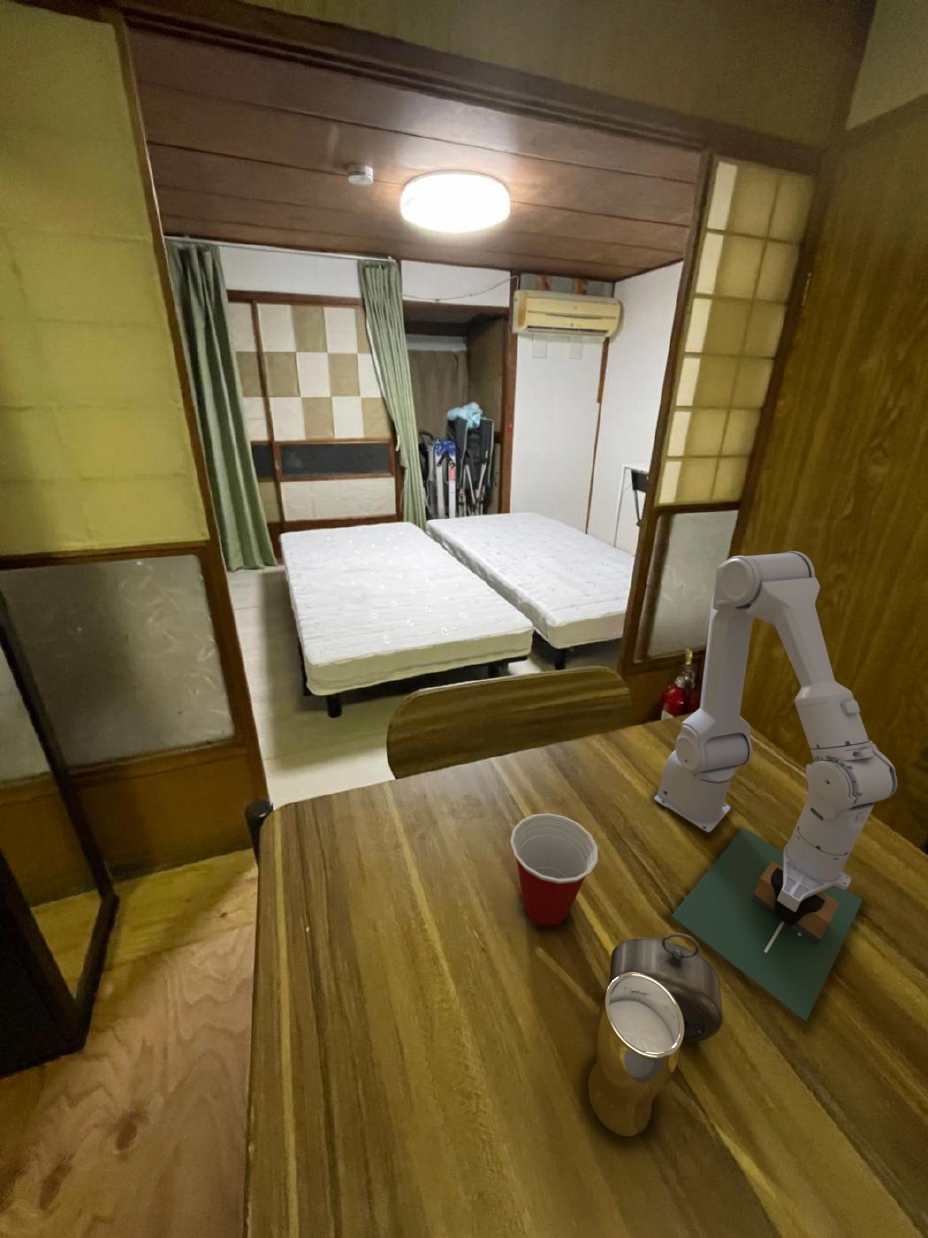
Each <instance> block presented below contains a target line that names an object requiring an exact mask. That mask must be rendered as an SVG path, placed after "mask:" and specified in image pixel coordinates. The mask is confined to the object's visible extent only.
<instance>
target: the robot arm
mask: <svg viewBox="0 0 928 1238" xmlns="http://www.w3.org/2000/svg"><path fill="white" fill-rule="evenodd" d="M815 571H816V570H815V567H814V564H813V562H812V561H811V559H810V558H809V557H808V556H807V555H806V554H804V553H803V552H800V551H796V550H795V551H793V550H792V551H786V552H782V553H770V554H758V555H757V554H756V555H735V556H731V557H729V558H728V559H727V560H725V561H724V562H723V563H721V564H720V565H718V566H717V567H716V571H715V572H716V573H715V581H714V588H713V589H714V590H713V595H712V598H711V605H710V607H711V608H710V614H709V615H710V616H709V623H708V633H707V640H706V651H705V659H704V668H703V676H702V685H701V693H700V703H699V708H698V709H697V710H695V712H693V713H692V714H690V715H689V716H688V717H687V718H686V719H684V720H683V721H682V722H681V729H680V732H679V734H678V735H677V737H676V741H675V745H674V746H675V748H674V750H673V751H672V752H671V753H670V755H669V756H668V758H667V760H666V762H665V764H664V766H663V769H662V774H661V777H660V782H659V784H658V790H657V793H656V795H655V796H654V798H653V799H654V801H655V802H656V803H658V804H660V805H661V806H663V807H664V808H666V809H667V808H669V809H670V810H671V811H673V812H675V813H676V814H678V815H679V816H681V817H683V818H684V819H686V820H688V821H689V822H691V824H694V825H695V826H696V827H698V828H700V829H701V830H703V831H705V832H706V833H711V832H712V831H713V829H715V827H716V826H717V825H718V824H719V823H720V822H721V820H722V819H723V818H724V817H725V816H726V815H727V814H728V813H729V811H731V808H732V807H731V806H730V805H728V804H727V803H725V801H726V798H727V795H728V792H729V789H730V786H731V784H732V783H731V782H732V780H733V776H734V774H735V773H737V772H739V768H740V766H745V765H747V764H749V763H750V762H751V760H752V758H753V753H754V751H753V744H752V743H753V742H752V740H751V731H752V726H751V724H749V722H748V721H747V720H745V718H743V717H742V716H741V710H742V709H741V707H742V703H743V702H742V701H743V695H744V694H743V693H744V687H745V680H746V673H747V672H746V671H747V665H748V658H749V650H750V644H751V636H752V628H753V622H754V618H756V619H758V620H761V621H763V622H765V623H767V624H770V625H772V626H774V627H775V629H776V631H777V633H778V636H779V638H780V640H781V643H782V645H783V648H784V650H785V652H786V654H787V657H788V659H789V661H790V663H791V666H792V668H793V671H794V673H795V676H796V678H797V680H798V683H799V685H800V689H799V692H798V693H797V695H796V697H795V699H794V705H795V707H796V710H797V714H798V717H799V720H800V723H801V726H802V728H803V732H804V735H805V738H806V741H807V744H808V747H809V749H810V752H811V756H812V759H813V762H812V763H807V764H806V767H805V779H806V782H807V788H808V790H807V792H806V795H805V798H806V801H805V803H804V804H803V805H804V806H803V808H802V810H801V813H800V815H799V817H798V820H797V822H796V824H795V827H794V829H793V831H792V834H791V836H790V838H789V842H787V843H786V845H785V846H784V848H783V851H782V852H783V870H781V869H780V868H778V867H777V868H776V869H775V870H774V872H773V873H772V876H771V884H772V886H773V889H774V892H775V916H776V917H778V918H779V919H781V920H782V921H784V922H785V923H787V924H788V925H789V926H793V925H795V924H796V923H797V922H798V921H799V920H800V919H801V918H802V917H803V916H804V915H806V914H808V913H812V912H817V911H819V910H820V909H821V908H822V906H823V904H824V903H825V900H824V899H822V898H821V897H819V896H817V895H816V893H818V892H820V891H823V890H825V889H827V888H829V887H831V886H837V887H839V888H841V889H843V890H847V889H848V888H849V886H850V884H851V882H852V878H851V876H849V875H848V874H847V873H845V872H844V871H843V869H844V867H845V865H846V863H847V861H848V858H849V857H850V854H851V853H852V851H853V850H854V848H855V845H856V843H857V841H858V839H859V837H860V835H861V833H862V831H863V829H864V827H865V825H866V823H867V821H868V819H869V817H870V815H871V813H872V811H873V809H874V807H875V803H877V802H881V801H883V800H885V799H889V798H890V797H892V796H893V795H894V794H895V793H896V791H897V787H898V778H897V775H896V768H895V766H894V764H893V763H892V761H890V759H889V758H888V757H887V756H886V755H884V754H883V753H882V752H880V751H879V749H878V747H877V745H876V743H874V742H873V741H872V740H870V739H869V737H868V733H867V731H866V728H865V725H864V722H863V720H862V717H861V714H860V712H861V710H860V706H859V703H858V702H857V700H855V698H854V695H853V692H852V691H851V690H850V689H849V688H847V687H846V686H844V685H842V684H840V683H839V682H837V681H836V680H835V676H834V673H833V668H832V665H831V661H830V658H829V654H828V653H829V652H828V650H827V646H826V642H825V639H824V635H823V631H822V627H821V623H820V620H819V616H818V611H817V608H816V602H817V599H818V595H819V593H820V589H821V585H820V582H819V581H818V578H817V577H816V572H815Z"/></svg>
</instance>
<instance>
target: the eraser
mask: <svg viewBox="0 0 928 1238" xmlns="http://www.w3.org/2000/svg"><path fill="white" fill-rule="evenodd" d="M777 867H778V868H780V869H781V870H783V867H781V866H780V865H778V864H777V863H775V862H773V861H772V862H771V863H770V865H769V866H768V868H767V869H766V871H765V872H764V873H763V875H762V876H761V878H760V880H759V883H758V885H757V888H756V890H755V893H754V895H753V898H752V901H754V902H755V903H757V904H758V905H760V906H761V907H763V908H764V909H766V910H767V911H768V912H770V913H771V914H773V915H774V916H775V892H774V889H773V886H772V884H771V876H772V873H773V872H774V870H775V869H776V868H777ZM816 895H817V896H819V897H821V898H822V899H824V900H825V903H824V904H823V906H822V908H821V909H820V910H819V911H817V912H812V913H808V914H806V915H804V916H803V917H802V918H801V919H800V920H799V921H798V922H797V923H796V924H795V925H793V926H790V927H792V928H793V929H795V930H796V931H798V932H799V933H800V934H802V935H803V936H805V937H806V938H808V939H809V940H811V941H812V942H814V943H815V944H816V945H818V944H819V942H820V940H821V938H822V936H823V934H824V932H825V930H826V928H827V926H828V924H829V923H830V921H831V919H832V917H833V915H834V913H835V911H836V909H837V907H838V905H839V902H838V901H836V900H835V899H833V898H831V897H830V896H828V895H826V894H825V893H823V892H822V891H820V892H818V893H816ZM777 918H778V917H777ZM780 920H781V919H780ZM783 922H784V921H783ZM784 923H785V922H784ZM786 924H787V923H786ZM787 925H788V924H787Z"/></svg>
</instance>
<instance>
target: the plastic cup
mask: <svg viewBox="0 0 928 1238" xmlns="http://www.w3.org/2000/svg"><path fill="white" fill-rule="evenodd" d="M510 846H511V849H512V852H513V855H514V859H515V860H516V865H517V872H518V878H519V885H520V891H521V895H522V902H523V907H524V909H525V911H526V912H525V913H526V914H527V916H528V917H529V918H530V920H532V922H534V923H535V924H537V925H539V926H543V927H546V926H552V925H558V924H560V923H561V922H563V921H564V920H565V919H566V918H567V916H568V914H569V913H570V909H571V907H572V905H573V904H574V903H575V900H576V898H577V896H578V894H579V891H580V889H581V887H582V885H583V883H584V881H585V878H586V877H587V876H589V875H590V874H591V872H592V871H593V869H594V868H595V866H596V865H597V863H598V860H599V859H598V856H599V855H598V852H599V849H598V846H597V844H596V842H595V840H594V838H593V835H592V834H591V833H590V832H589V831H588V830H587V829H585V827H583V826H582V824H580V823H579V822H576V821H575V820H573V819H571V818H569V817H567V816H564V815H560V814H555V813H551V812H549V813H548V812H546V813H535V814H532V815H529V816H527V817H525V818H522V819H521V820H520V821H519V822H518V823H517V824H516V825H515V826H514V827H513V828H512V832H511V838H510Z"/></svg>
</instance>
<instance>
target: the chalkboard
mask: <svg viewBox="0 0 928 1238" xmlns="http://www.w3.org/2000/svg"><path fill="white" fill-rule="evenodd" d="M772 861H773V862H775V863H777V864H778V865H780V866H781V867H783V851H782V850H780V849H778V848H777V847H775V846H773V845H771V844H770V843H768V842H767V841H765V840H763V839H762V838H760V837H758V836H757V835H755V834H753V833H752V832H751V831H749V830H747V829H745V828H743V827H742V828H741V830H739V832H738V834H737V835H736V836H735V837H734V838H733V839H732V841H731V842H730V843H729V844H728V845H727V847H726V848H725V849H724V850H723V852H722V853H721V854H720V856H719V857H718V858H717V859H716V860H715V862H714V863H713V864H711V866H710V868H709V869H708V870H707V871H706V873H705V874H704V875H703V877H701V879H700V880H699V882H697V884H696V885H695V886H694V888H693V889H692V890H691V891H690V892H689V894H687V896H686V897H685V898H684V900H683V901H682V902H681V904H680V905H679V906H678V908H676V910H675V911H674V912H673V914H672V915H671V917H672V918H673V919H674V920H675V921H676V922H677V923H679V924H681V925H682V926H683V927H684V928H686V929H687V930H689V931H690V933H692V934H693V935H695V936H696V937H697V938H699V940H701V941H702V942H704V943H705V944H706V945H707V946H709V947H710V948H711V949H712V950H713V951H715V952H716V953H718V954H719V955H720V956H722V957H723V958H724V959H725V960H727V961H728V962H729V963H730V964H731V965H733V966H734V967H736V968H737V969H738V971H741V972H742V973H743V974H744V975H745V976H747V977H748V978H749V979H751V980H752V981H753V982H754V983H756V984H757V985H758V986H760V987H761V988H762V989H764V991H766V992H767V993H769V994H770V995H771V996H773V997H774V998H775V999H777V1000H778V1001H779V1002H780V1003H781V1004H783V1006H785V1007H786V1008H788V1009H789V1010H790V1011H792V1012H793V1013H794V1014H795V1015H797V1016H798V1017H799V1018H800V1019H802V1021H805V1022H807V1021H808V1020H809V1019H808V1018H809V1016H810V1014H811V1012H812V1010H813V1008H814V1006H815V1004H816V1001H817V999H818V997H819V996H820V993H821V991H822V989H823V987H824V984H825V983H826V980H827V978H828V976H829V974H830V972H831V969H832V967H833V965H834V963H835V961H836V959H837V957H838V955H839V953H840V950H841V948H842V947H843V944H844V942H845V940H846V937H847V936H848V933H849V931H850V929H851V927H852V925H853V923H854V921H855V918H856V916H857V914H858V912H859V910H860V908H861V905H862V904H863V901H864V900H863V899H862V898H860V897H858V896H857V895H855V894H853V893H852V892H850V891H849V890H847V889H846V890H843V889H841V888H839V887H837V886H831V887H829V888H827V889H825V890H823V891H822V892H823V893H825V894H826V895H828V896H830V897H831V898H833V899H835V900H836V901H838V902H839V905H838V907H837V909H836V911H835V913H834V915H833V917H832V919H831V921H830V923H829V924H828V926H827V928H826V930H825V932H824V934H823V936H822V938H821V940H820V942H819V944H818V945H816V944H815V943H814V942H812V941H811V940H809V939H808V938H806V937H805V936H803V935H802V934H800V933H799V932H798V931H796V930H795V929H793V928H792V927H790V926H789V925H787V924H786V923H784V922H783V921H782V920H780V919H779V918H777V917H776V916H774V915H773V914H771V913H770V912H768V911H767V910H766V909H764V908H763V907H761V906H760V905H758V904H757V903H755V902H754V901H752V898H753V895H754V893H755V890H756V888H757V885H758V883H759V880H760V878H761V876H762V875H763V873H764V872H765V871H766V869H767V868H768V866H769V865H770V863H771V862H772Z"/></svg>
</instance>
